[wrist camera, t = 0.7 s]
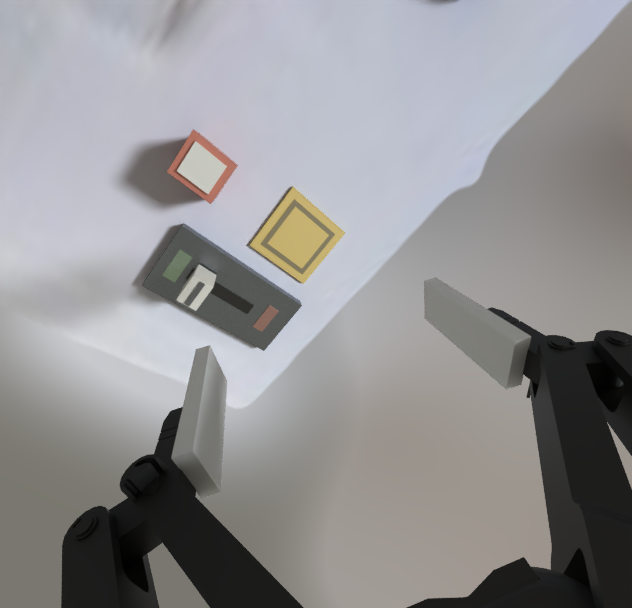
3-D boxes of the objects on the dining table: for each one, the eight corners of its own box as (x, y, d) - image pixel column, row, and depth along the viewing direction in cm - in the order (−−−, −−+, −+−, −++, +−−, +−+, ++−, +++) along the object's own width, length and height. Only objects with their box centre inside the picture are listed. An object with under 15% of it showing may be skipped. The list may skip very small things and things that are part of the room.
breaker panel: (145, 281, 36) (141, 285, 35) (184, 223, 34) (181, 226, 33) (263, 345, 44) (264, 351, 42) (300, 301, 42) (301, 305, 41)
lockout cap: (179, 170, 32) (166, 171, 26) (202, 135, 31) (192, 129, 25) (216, 197, 34) (210, 204, 28) (238, 165, 33) (236, 165, 27)
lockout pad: (249, 244, 37) (249, 245, 36) (292, 186, 35) (293, 186, 35) (302, 282, 41) (303, 283, 40) (344, 232, 39) (345, 233, 38)
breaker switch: (182, 286, 35) (175, 301, 32) (198, 264, 35) (193, 276, 31) (200, 296, 36) (195, 311, 33) (216, 275, 36) (213, 287, 32)
